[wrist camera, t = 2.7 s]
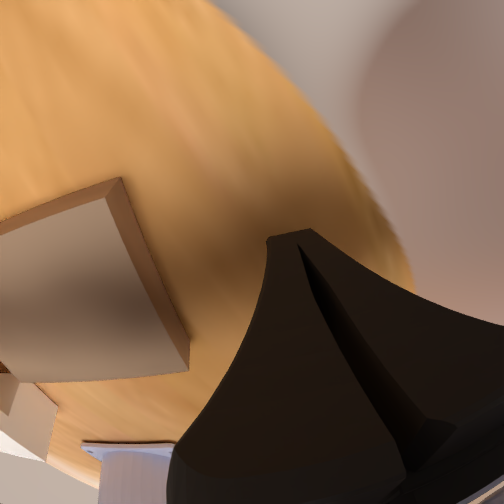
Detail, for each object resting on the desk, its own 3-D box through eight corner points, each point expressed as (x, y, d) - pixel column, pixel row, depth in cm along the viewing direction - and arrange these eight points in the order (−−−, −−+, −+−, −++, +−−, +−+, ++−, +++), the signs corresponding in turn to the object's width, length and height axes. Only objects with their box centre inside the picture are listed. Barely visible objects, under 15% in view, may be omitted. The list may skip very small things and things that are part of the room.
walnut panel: (190, 331, 13) (189, 371, 11) (32, 352, 13) (21, 382, 11) (124, 171, 9) (104, 197, 7) (-43, 240, 9) (-67, 267, 7)
